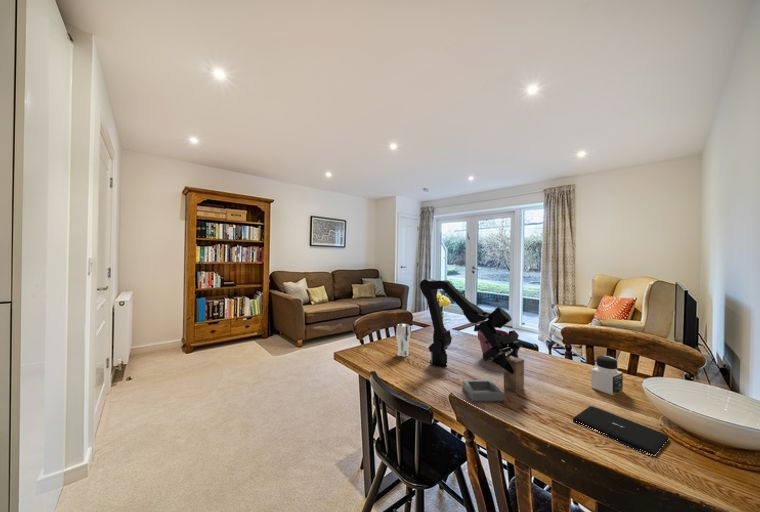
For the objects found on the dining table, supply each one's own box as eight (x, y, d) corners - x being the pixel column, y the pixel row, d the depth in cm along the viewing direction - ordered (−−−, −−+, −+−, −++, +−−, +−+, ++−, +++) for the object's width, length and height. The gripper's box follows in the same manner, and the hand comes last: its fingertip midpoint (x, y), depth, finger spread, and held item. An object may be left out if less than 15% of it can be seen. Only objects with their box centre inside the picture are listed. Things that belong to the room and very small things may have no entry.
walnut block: (503, 387, 107) (503, 358, 107) (511, 383, 110) (511, 355, 110) (516, 392, 103) (516, 362, 103) (523, 388, 106) (523, 359, 106)
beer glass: (411, 353, 144) (411, 324, 144) (408, 358, 137) (408, 327, 137) (398, 351, 146) (398, 322, 146) (394, 356, 139) (394, 326, 139)
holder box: (472, 402, 96) (472, 393, 96) (462, 388, 106) (463, 380, 106) (503, 402, 96) (503, 393, 96) (490, 387, 106) (490, 379, 106)
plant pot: (472, 358, 136) (472, 332, 136) (484, 351, 147) (484, 327, 147) (503, 366, 127) (503, 338, 127) (513, 358, 137) (513, 332, 137)
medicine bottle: (613, 396, 100) (613, 362, 100) (590, 387, 107) (590, 355, 107) (623, 391, 104) (623, 358, 104) (600, 383, 110) (600, 352, 110)
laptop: (646, 463, 68) (646, 455, 68) (564, 419, 87) (564, 413, 87) (679, 446, 75) (679, 438, 75) (595, 408, 93) (595, 402, 93)
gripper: (489, 327, 105) (517, 366, 95) (517, 320, 115) (546, 356, 106) (471, 342, 111) (496, 381, 102) (500, 335, 121) (525, 370, 112)
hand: (517, 371), depth 105 cm, fingers closed on walnut block, 5 cm apart
